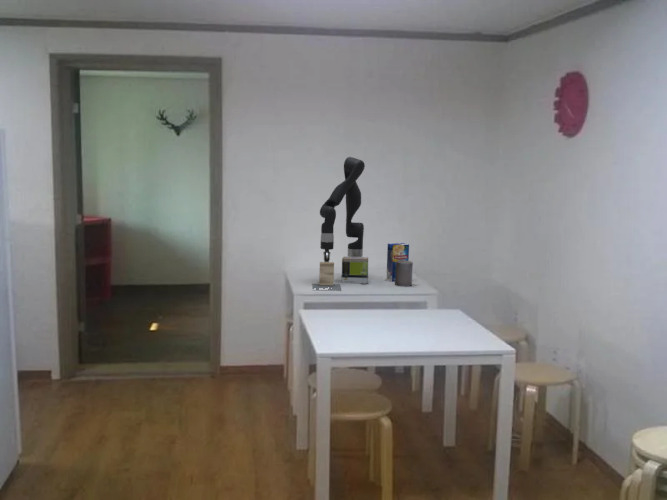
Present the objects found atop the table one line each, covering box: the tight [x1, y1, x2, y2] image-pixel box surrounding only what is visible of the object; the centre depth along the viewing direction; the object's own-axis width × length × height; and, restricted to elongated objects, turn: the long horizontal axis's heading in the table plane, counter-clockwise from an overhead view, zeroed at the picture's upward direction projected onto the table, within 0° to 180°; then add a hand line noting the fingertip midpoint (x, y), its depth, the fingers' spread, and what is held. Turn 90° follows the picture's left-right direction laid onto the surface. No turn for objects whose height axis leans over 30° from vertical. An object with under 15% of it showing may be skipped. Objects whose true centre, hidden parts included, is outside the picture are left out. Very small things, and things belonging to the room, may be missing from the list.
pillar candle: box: [394, 259, 414, 287], centre depth 419 cm, size 10×10×15 cm
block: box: [318, 261, 335, 286], centre depth 410 cm, size 5×8×13 cm, turn 92°
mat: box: [311, 283, 342, 292], centre depth 405 cm, size 20×16×1 cm
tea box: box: [341, 256, 369, 285], centre depth 424 cm, size 15×10×15 cm
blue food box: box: [385, 242, 410, 283], centre depth 433 cm, size 7×11×22 cm, turn 116°
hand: (326, 270), depth 419 cm, fingers closed
